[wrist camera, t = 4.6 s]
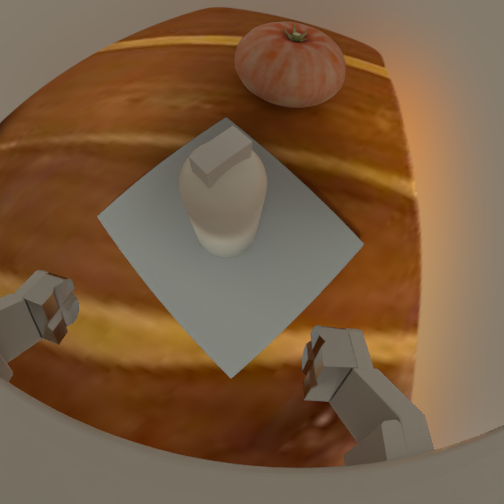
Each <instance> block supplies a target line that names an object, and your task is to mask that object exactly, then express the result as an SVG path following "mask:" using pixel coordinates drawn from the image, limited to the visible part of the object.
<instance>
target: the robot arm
mask: <svg viewBox="0 0 504 504" xmlns="http://www.w3.org/2000/svg"><path fill="white" fill-rule="evenodd" d="M73 291H74V285H73V282H72V280H70V279H69V278H66V277H62V276H59V275H56V274H53V273H50V272H46V271H43V270H37V271H36V272H35V273H34V274H33V275H32V276H31V277H30V278H29V279H28V280H27V281H26V282H25V283H24V284H23V285H22V286H21V287H20V288H19V289H18V290H17V291H16V292H15V293H14V294H9V295H6V296H4V297H2V298H0V504H504V426H500V427H498V428H496V429H493V430H491V431H489V432H486V433H484V434H481V435H479V436H476V437H474V438H471V439H468V440H465V441H462V442H459V443H456V444H453V445H450V446H447V447H443V448H440V449H437V450H434V449H433V444H432V440H431V436H430V433H429V429H428V425H427V422H426V418H425V415H424V414H423V413H422V412H421V411H420V410H419V409H418V408H417V407H416V406H415V405H414V404H413V403H412V402H411V401H410V400H409V399H408V398H407V397H406V396H405V395H404V394H403V393H402V392H401V391H400V390H399V389H398V388H397V387H395V386H394V385H393V384H392V383H391V382H390V381H389V380H388V379H387V378H386V377H385V376H384V375H383V374H382V373H381V372H380V371H379V370H378V369H373V365H372V362H371V359H370V355H369V352H368V348H367V345H366V342H365V339H364V335H363V332H362V331H361V330H360V329H349V328H336V327H325V326H315V327H314V328H313V330H312V332H311V341H310V342H308V343H307V344H306V346H305V349H304V352H303V357H302V371H303V373H304V374H305V375H306V378H305V380H304V382H303V390H304V400H315V401H330V402H329V403H330V404H331V406H332V407H333V409H334V410H335V411H336V413H337V414H338V416H339V417H340V419H341V420H342V421H343V423H344V424H345V426H346V427H347V429H348V430H349V431H350V433H351V434H352V436H353V437H354V439H355V440H356V441H357V443H358V444H357V445H356V446H354V447H353V448H352V449H351V450H349V451H348V452H347V453H346V454H345V455H344V459H345V466H338V467H319V468H281V467H262V466H250V465H240V464H231V463H224V462H217V461H211V460H205V459H199V458H194V457H189V456H184V455H180V454H175V453H171V452H167V451H163V450H159V449H156V448H152V447H149V446H145V445H142V444H139V443H135V442H132V441H129V440H126V439H123V438H120V437H117V436H115V435H112V434H109V433H107V432H104V431H101V430H99V429H96V428H94V427H91V426H89V425H87V424H84V423H82V422H80V421H78V420H75V419H73V418H71V417H69V416H67V415H65V414H63V413H61V412H59V411H57V410H55V409H53V408H51V407H49V406H47V405H45V404H44V403H42V402H40V401H38V400H36V399H35V398H33V397H31V396H29V395H28V394H26V393H24V392H23V391H21V390H20V389H18V388H16V387H15V386H13V385H12V384H10V383H9V380H10V379H11V377H12V375H13V372H12V370H11V369H10V367H9V366H8V364H7V363H8V362H9V361H11V360H12V359H14V358H15V357H17V356H18V355H19V354H21V353H22V352H24V351H25V350H27V349H28V348H30V347H31V346H33V345H34V344H36V343H37V342H39V341H40V340H42V338H43V339H45V340H48V341H50V342H53V343H56V344H58V345H59V344H60V342H61V341H62V339H63V338H64V336H65V335H66V333H67V326H69V325H71V324H73V323H74V321H75V320H76V318H77V315H78V312H79V303H78V299H77V297H76V296H75V295H74V294H73Z"/></svg>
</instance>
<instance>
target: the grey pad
mask: <svg viewBox="0 0 504 504" xmlns="http://www.w3.org/2000/svg"><path fill="white" fill-rule="evenodd" d="M231 126H234V127H236V128H237V129H238V130H239V131H241V132H242V133H243V134H244V135H245V136H247V137H248V138H249V139H250V140H251V141H253V142H252V150H253V151H254V152H255V153H256V154H257V155H258V157H259V158H260V159H261V161H262V163H263V165H264V167H265V170H266V174H267V191H266V195H265V200H264V204H263V208H262V212H261V216H260V221H259V225H258V229H257V233H256V237H255V240H254V242H253V244H252V245H251V246H250V247H249V248H248V250H246V251H245V252H244V253H242V254H240V255H238V256H235V257H230V258H222V257H217V256H214V255H212V254H210V253H209V252H207V251H206V250H205V249H204V248H203V247H202V246H201V244H200V243H199V240H198V238H197V236H196V233H195V231H194V228H193V226H192V224H191V221H190V219H189V216H188V214H187V211H186V209H185V206H184V204H183V201H182V199H181V196H180V191H179V176H180V172H181V169H182V166H183V164H184V162H185V160H186V159H187V158H188V156H189V155H190V154H191V153H192V152H193V151H194V150H195V149H196V148H198V147H200V146H201V145H203V144H205V143H207V142H209V141H211V140H212V139H214V138H215V137H216V136H218V135H219V134H221V133H222V132H224V131H225V130H227V129H228V128H230V127H231ZM97 217H98V219H99V220H100V222H101V223H102V225H103V226H104V228H105V229H106V230H107V232H108V233H109V235H110V236H111V238H112V239H113V240H114V242H115V243H116V245H117V246H118V247H119V249H120V250H121V252H122V253H123V254H124V256H125V257H126V258H127V260H128V261H129V262H130V264H131V265H132V266H133V268H134V269H135V270H136V272H137V273H138V274H139V275H140V277H141V278H142V279H143V281H144V282H145V283H146V284H147V286H148V287H149V288H150V289H151V291H152V292H153V293H154V294H155V295H156V297H157V298H158V299H159V300H160V302H161V303H162V304H163V305H164V306H165V308H166V309H167V310H168V311H169V312H170V313H171V315H172V316H173V317H174V318H175V319H176V320H177V322H178V323H179V324H180V325H181V326H182V327H183V328H184V330H185V331H186V332H187V333H188V334H189V335H190V336H191V337H192V338H193V340H194V341H195V342H196V343H197V344H198V345H199V346H200V347H201V348H202V349H203V350H204V351H205V352H206V354H207V355H208V356H209V357H210V358H211V359H212V360H213V361H214V362H215V363H216V364H217V365H218V366H219V367H220V368H221V369H222V370H223V371H224V372H225V373H226V374H227V375H228V376H229V377H230V378H232V377H234V376H235V375H236V374H237V373H238V372H239V371H240V370H241V369H243V368H244V367H245V366H246V365H247V364H248V363H249V362H250V361H251V360H252V359H254V358H255V357H256V356H257V355H258V354H259V353H260V352H261V351H262V350H263V349H264V348H265V347H266V346H267V345H269V344H270V343H271V342H272V341H273V340H274V339H275V338H276V337H277V336H278V335H279V334H280V333H281V332H282V331H283V330H284V329H285V328H286V327H287V326H288V325H289V324H290V323H291V322H292V321H293V320H294V319H295V318H296V317H297V316H298V315H299V314H300V313H301V312H302V311H303V310H304V309H305V308H306V307H307V306H308V305H309V304H310V303H311V302H312V301H313V300H314V299H315V298H316V297H317V296H318V295H319V294H320V293H321V291H322V290H323V289H324V288H325V287H326V286H327V285H328V284H329V283H330V282H331V281H332V280H333V279H334V278H335V276H336V275H337V274H338V273H339V272H340V271H341V270H342V269H343V268H344V267H345V265H346V264H347V263H348V262H349V261H350V260H351V259H352V258H353V256H354V255H355V254H356V253H357V252H358V251H359V250H360V248H361V247H362V246H363V245H364V243H363V242H362V241H361V240H360V239H359V238H358V237H357V236H356V235H355V234H354V233H353V232H352V231H351V229H350V228H349V227H348V226H347V225H346V224H345V223H344V222H343V221H342V220H341V219H340V218H339V217H338V216H337V215H336V214H335V213H334V212H333V211H332V210H331V209H330V208H329V207H328V206H327V205H326V204H325V203H324V202H323V201H322V200H321V199H320V198H318V197H317V196H316V195H315V194H314V193H313V192H312V191H311V190H310V189H309V188H308V187H307V186H306V185H305V184H304V183H303V182H302V181H300V180H299V179H298V178H297V177H296V176H295V175H294V174H293V173H292V172H291V171H290V170H288V169H287V168H286V167H285V166H284V165H283V164H282V163H281V162H279V161H278V160H277V159H276V158H275V157H274V156H273V155H272V154H270V153H269V152H268V151H267V150H266V149H265V148H263V147H262V146H261V145H260V144H259V143H257V142H256V141H255V140H254V139H253V138H252V137H250V136H249V135H248V134H247V133H245V132H244V131H243V130H242V129H241V128H239V127H238V126H237V125H236V124H234V123H233V122H232V121H231V120H229V119H228V118H227V117H226V118H224V119H223V120H221V121H220V122H218V123H216V124H215V125H213V126H212V127H210V128H209V129H207V130H206V131H204V132H203V133H201V134H200V135H198V136H197V137H196V138H194V139H193V140H191V141H190V142H188V143H187V144H186V145H184V146H183V147H181V148H180V149H179V150H177V151H176V152H174V153H173V154H172V155H170V156H169V157H168V158H166V159H165V160H164V161H162V162H161V163H160V164H159V165H157V166H156V167H155V168H153V169H152V170H151V171H150V172H148V173H147V174H146V175H145V176H143V177H142V178H141V179H140V180H138V181H137V182H136V183H135V184H134V185H132V186H131V187H130V188H129V189H128V190H127V191H125V192H124V193H123V194H122V195H121V196H120V197H118V198H117V199H116V200H115V201H114V202H113V203H112V204H110V205H109V206H108V207H107V208H106V209H105V210H104V211H103V212H102V213H101V214H100V215H98V216H97Z"/></svg>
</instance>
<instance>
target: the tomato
mask: <svg viewBox="0 0 504 504" xmlns="http://www.w3.org/2000/svg"><path fill="white" fill-rule="evenodd" d="M234 66H235V69H236V72H237V74H238V76H239V78H240V80H241V81H242V83H243V84H244V85H245V87H246V88H247V89H248V90H249V91H250V92H252V93H253V94H254V95H256V96H257V97H259V98H261V99H263V100H265V101H267V102H269V103H272V104H275V105H278V106H283V107H290V108H303V107H311V106H315V105H318V104H321V103H323V102H325V101H327V100H329V99H330V98H332V97H333V96H334V95H335V94H336V93H337V92H338V91H339V90H340V89H341V87H342V85H343V83H344V80H345V77H346V63H345V59H344V56H343V53H342V51H341V49H340V48H339V46H338V45H337V44H336V43H335V42H334V41H332V39H331V38H330V37H329V36H327V35H326V34H325V33H323V32H321V31H320V30H318V29H316V28H313V27H310V26H306V25H304V24H301V23H296V22H289V21H284V22H270V23H266V24H263V25H259V26H257V27H255V28H253V29H252V30H251V31H249V32H248V33H247V34H246V35H245V36H244V37H243V38H242V39H241V41H240V42H239V44H238V46H237V48H236V52H235V57H234Z"/></svg>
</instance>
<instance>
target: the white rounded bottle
mask: <svg viewBox="0 0 504 504" xmlns="http://www.w3.org/2000/svg"><path fill="white" fill-rule="evenodd" d="M252 142H253V141H251V140H250V139H249V138H248V137H247V136H245V135H244V134H243V133H242V132H241V131H239V130H238V129H237V128H236V127H234V126H231V127H230V128H228V129H227V130H225V131H224V132H222V133H221V134H219V135H218V136H216V137H215V138H214V139H212V140H211V141H209V142H207V143H205V144H203V145H201V146H200V147H198V148H196V149H195V150H194V151H193V152H192V153H191V154H190V155H189V156H188V158H187V159H186V160H185V162H184V164H183V166H182V169H181V172H180V176H179V191H180V196H181V199H182V201H183V204H184V206H185V209H186V211H187V214H188V216H189V219H190V221H191V224H192V226H193V228H194V231H195V233H196V236H197V238H198V240H199V243H200V244H201V246H202V247H203V248H204V249H205V250H206V251H207V252H209V253H210V254H212V255H214V256H217V257H222V258H230V257H235V256H238V255H240V254H242V253H244V252H245V251H246V250H248V248H249V247H250V246H251V245H252V244H253V242H254V240H255V237H256V233H257V229H258V225H259V221H260V216H261V212H262V208H263V204H264V200H265V195H266V191H267V174H266V170H265V167H264V165H263V163H262V161H261V159H260V158H259V157H258V155H257V154H256V153H255V152H254V151H253V150H252Z"/></svg>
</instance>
